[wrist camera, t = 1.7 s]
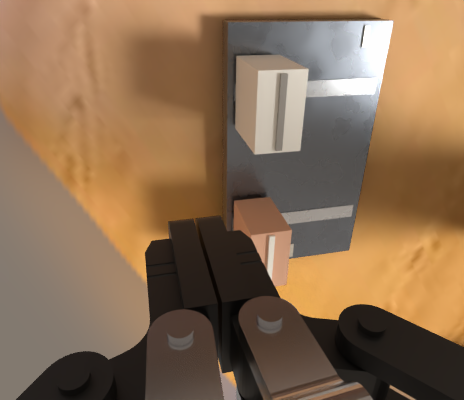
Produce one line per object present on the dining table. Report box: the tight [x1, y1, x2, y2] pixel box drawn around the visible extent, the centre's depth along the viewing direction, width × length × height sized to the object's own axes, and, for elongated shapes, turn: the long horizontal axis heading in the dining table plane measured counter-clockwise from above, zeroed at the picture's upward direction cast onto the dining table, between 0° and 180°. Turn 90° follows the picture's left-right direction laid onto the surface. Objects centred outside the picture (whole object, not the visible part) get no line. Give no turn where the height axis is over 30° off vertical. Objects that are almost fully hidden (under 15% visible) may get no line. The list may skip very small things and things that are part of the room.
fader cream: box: [235, 55, 309, 155], centre depth 25 cm, size 3×5×5 cm, turn 179°
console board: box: [223, 19, 393, 259], centre depth 32 cm, size 12×20×2 cm, turn 179°
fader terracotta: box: [234, 197, 292, 286], centre depth 31 cm, size 3×5×5 cm, turn 179°
